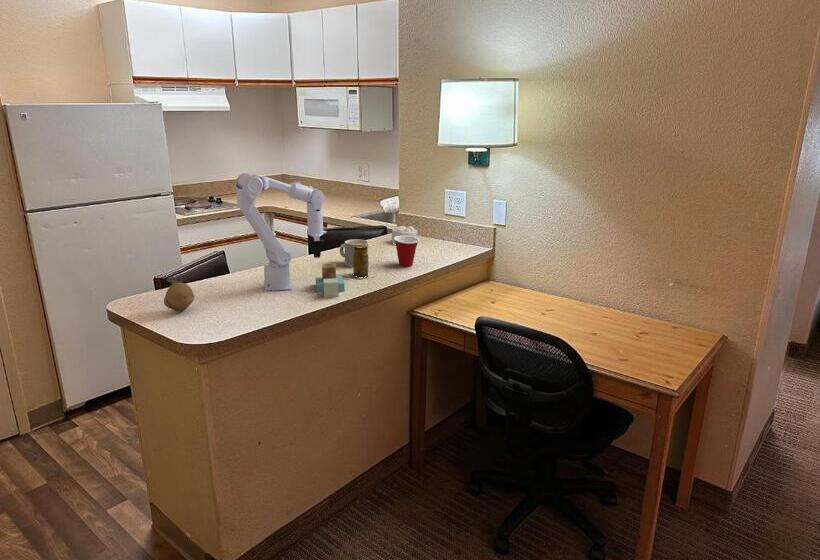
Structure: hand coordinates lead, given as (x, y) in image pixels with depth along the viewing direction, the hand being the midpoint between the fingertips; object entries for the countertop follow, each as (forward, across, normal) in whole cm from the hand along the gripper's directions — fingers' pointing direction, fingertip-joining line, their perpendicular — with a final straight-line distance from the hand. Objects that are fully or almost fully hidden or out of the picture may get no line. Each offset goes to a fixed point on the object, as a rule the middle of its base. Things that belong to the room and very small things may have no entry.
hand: (316, 254), depth 222 cm
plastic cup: (+11, +16, -39) cm, 43 cm away
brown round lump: (+10, -27, +46) cm, 55 cm away
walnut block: (+7, -9, -4) cm, 12 cm away
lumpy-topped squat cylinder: (+11, +53, -46) cm, 71 cm away
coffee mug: (+11, +22, -17) cm, 30 cm away
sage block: (+10, -18, -4) cm, 21 cm away
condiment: (+11, +4, -18) cm, 21 cm away
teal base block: (+11, -10, -4) cm, 15 cm away
